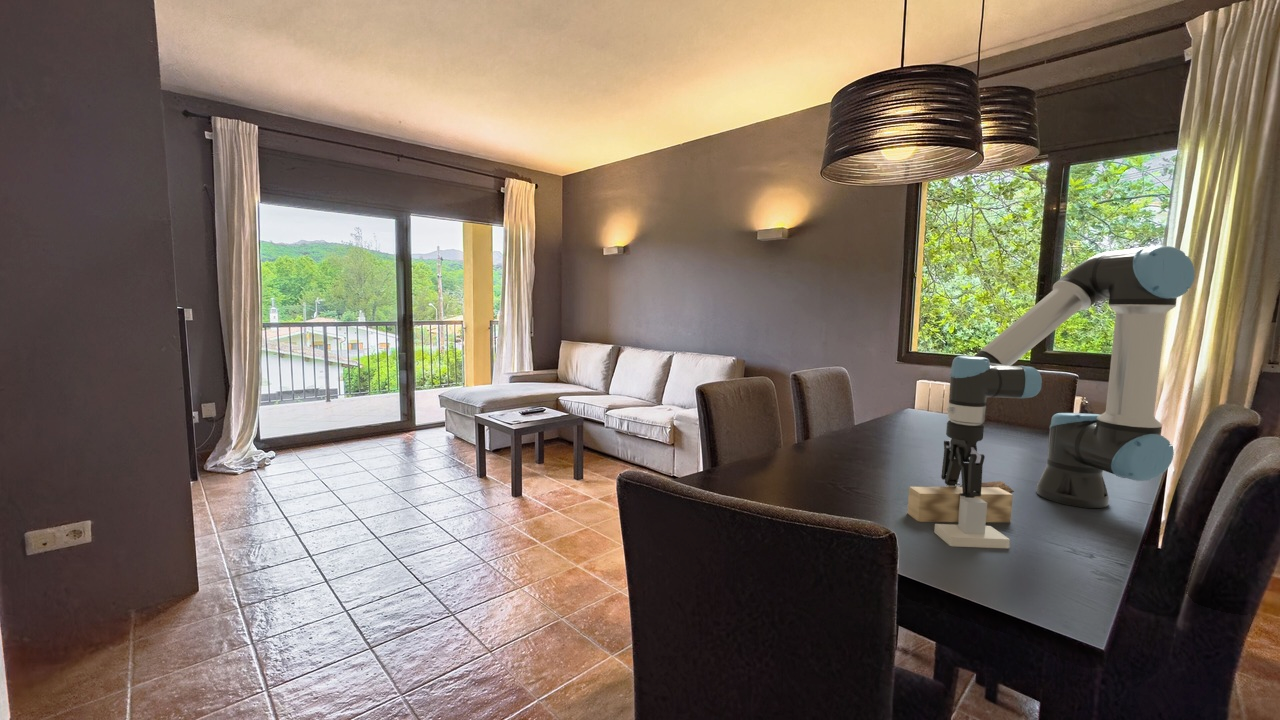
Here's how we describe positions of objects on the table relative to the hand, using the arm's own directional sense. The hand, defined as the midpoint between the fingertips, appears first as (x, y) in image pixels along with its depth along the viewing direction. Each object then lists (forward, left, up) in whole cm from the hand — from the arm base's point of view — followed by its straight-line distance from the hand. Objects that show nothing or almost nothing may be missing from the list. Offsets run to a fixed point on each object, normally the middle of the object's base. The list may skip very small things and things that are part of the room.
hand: (957, 516), depth 131 cm
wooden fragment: (-18, -21, -1) cm, 28 cm away
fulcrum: (+4, +13, 0) cm, 14 cm away
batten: (0, 0, -1) cm, 1 cm away
